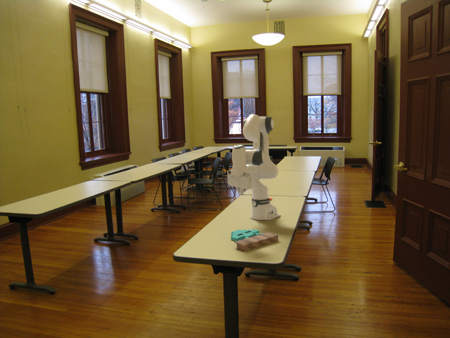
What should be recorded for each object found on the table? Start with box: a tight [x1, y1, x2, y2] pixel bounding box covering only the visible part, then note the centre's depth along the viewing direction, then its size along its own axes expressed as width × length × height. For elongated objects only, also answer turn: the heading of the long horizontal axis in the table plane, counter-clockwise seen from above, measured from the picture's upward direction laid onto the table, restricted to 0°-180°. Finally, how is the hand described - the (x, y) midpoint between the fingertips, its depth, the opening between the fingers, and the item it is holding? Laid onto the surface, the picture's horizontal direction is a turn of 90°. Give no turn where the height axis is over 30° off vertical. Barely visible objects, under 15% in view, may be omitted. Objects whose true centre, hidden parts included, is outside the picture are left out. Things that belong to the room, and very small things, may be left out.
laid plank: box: [234, 231, 279, 252], centre depth 207 cm, size 26×8×3 cm, turn 127°
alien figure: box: [230, 228, 264, 242], centre depth 220 cm, size 20×2×20 cm
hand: (240, 194), depth 221 cm, fingers closed
